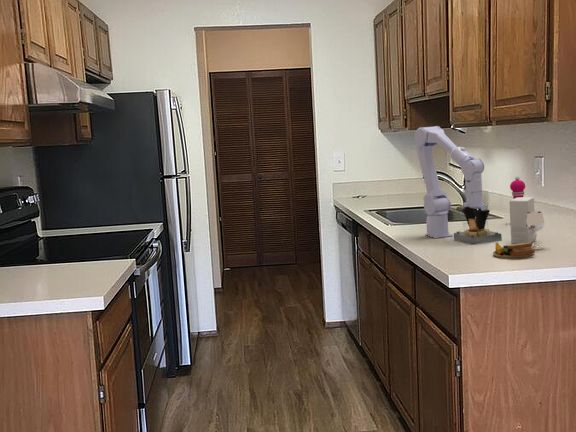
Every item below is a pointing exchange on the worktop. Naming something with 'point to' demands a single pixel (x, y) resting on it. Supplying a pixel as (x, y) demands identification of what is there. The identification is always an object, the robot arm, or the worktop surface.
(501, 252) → the toy sandwich meal
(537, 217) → the wineglass
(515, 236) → the skincare box
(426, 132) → the robot arm
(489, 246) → the worktop surface
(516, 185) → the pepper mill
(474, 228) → the copper spout can
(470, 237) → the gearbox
